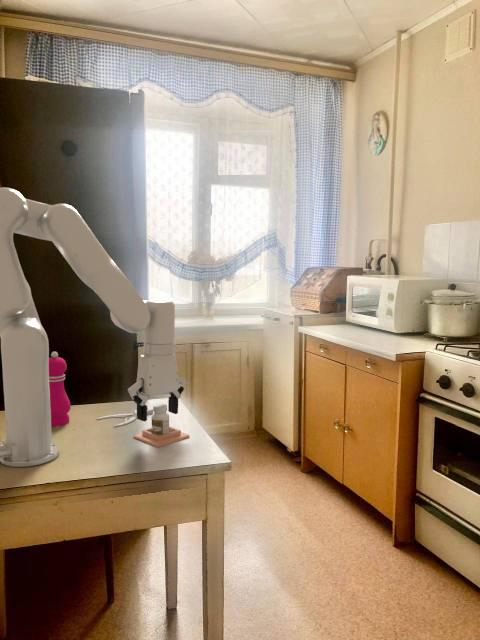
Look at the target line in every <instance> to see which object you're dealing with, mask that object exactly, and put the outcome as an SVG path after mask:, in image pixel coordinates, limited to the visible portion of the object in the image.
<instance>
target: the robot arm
mask: <svg viewBox="0 0 480 640" xmlns="http://www.w3.org/2000/svg"><path fill="white" fill-rule="evenodd" d="M14 234H19V235H22V236H27V237H29V238H35V239H38V240H44V241H49V242H52V243H53V245H54V246H55V248H56V249H57V250H58V251H59V253H60V254H61V255H62V257H63V258H64V259H65V261H66V262H67V263H68V265H69V266H70V267H71V269H72V271H73V272H75V274H76V275H77V277H78V278H79V279H80V280H81V281H82V282H83V283H84V284H85V285H86V286H87V287H88V288H90V289H91V290H93V291H94V293H95V294H96V295H97V296H98V297H99V298H100V299H101V301H102V302H103V303H104V304H105V305H106V307H107V308H108V310H109V313H110V314H109V315H110V320H111V321H112V322H113V324H114V325H115V326H116V327H118V328H119V329H122V330H124V332H125V331H126V332H128V333H131V334H138V333H142V332H143V354H141V355H140V357H139V361H138V366H137V374H136V375H137V376H136V382H135V383H134V384H132V385H131V386H130V387H128V388H127V392H128V394H129V396H130V399H131V400H132V401H133V402H134V404H136V410H137V418H136V419H137V420H139V421H141V422H147V420H148V415H147V407H148V406H147V402H148V400H149V398H152V397H157V396H162V395H168V394H169V396H168V402H167V403H168V405H167V411H168V413H171V414H174V415H177V414H179V399H180V398H181V397H182V396H181V395H182V393H183V392H184V390H185V386H186V384H187V379H186V378H183V377H182V376H179V369H178V368H179V367H178V360H177V355H176V354H175V349H176V348H177V347H178V345H177V343H176V342H175V324H176V323H175V322H176V321H175V318H176V307H175V304H174V302H173V301H172V300H169V299H168V300H167V299H150V300H149V299H148V300H144V298H142V296H141V295H140V293H139V292H138V291H137V289H136V288H135V287H134V285H133V284H132V282H131V281H130V280H129V279H128V278H127V276H126V275H125V274H124V272H123V271H122V270H121V268H119V267H118V265H117V263H116V262H115V261H114V260H113V258H111V256H110V255H109V254H108V252H107V251H106V249H105V248H104V247H103V245H102V244H101V243H100V242H99V240H98V238H97V237H96V235H95V234H94V233H93V231H92V230H91V228H90V227H89V226H88V224H87V222H86V221H85V220H84V219H83V217H82V215H81V214H80V213H79V212H78V211H77V209H75V208H74V207H73V206H72V205H69V204H67V203H56V204H48V203H44V202H40V201H36V200H32V199H28V198H25V197H24V196H23V194H22V193H21V192H20V191H18V190H16V189H14V188H10V187H7V186H6V187H5V186H4V187H0V353H1V354H0V355H1V364H2V383H3V384H2V385H3V396H4V399H3V400H4V414H5V417H4V418H5V433H6V434H5V435H6V438H5V439H2V441H1V444H0V462H1V464H3V465H5V466H7V467H15V468H24V467H25V468H26V467H34V466H39V465H42V464H46V463H48V462H50V461H52V460H53V461H54V459H56V458H58V456H59V455H60V447H59V446H58V445H57V444H56V443H53V436H52V426H51V410H50V388H49V358H50V347H49V345H50V344H49V343H50V342H49V338H48V334H47V332H46V330H45V328H44V327H43V325H42V323H41V320H40V317H39V314H38V311H37V308H36V306H35V305H36V304H35V302H34V299H33V296H32V291H31V290H32V289H31V287H30V285H29V283H28V281H27V279H26V277H25V275H24V271H23V269H22V266H21V264H20V260H19V257H18V253H17V249H16V247H15V243H14V242H15V241H14Z"/></svg>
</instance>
